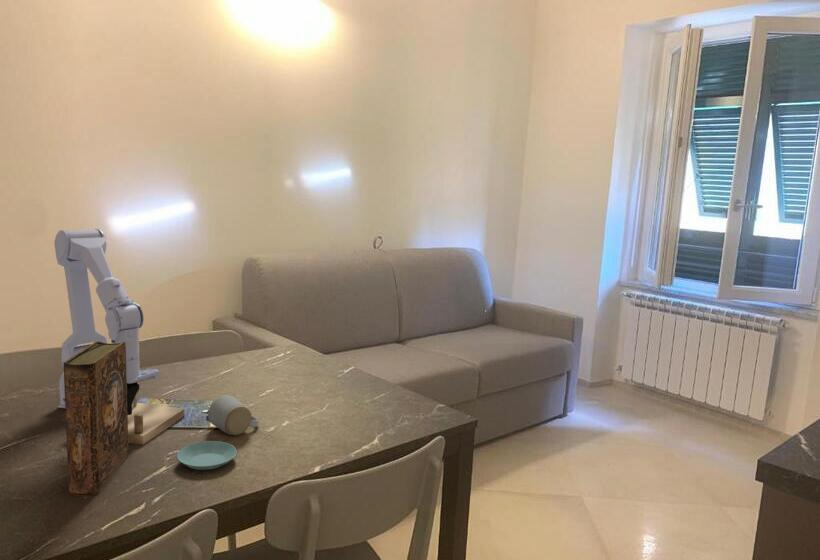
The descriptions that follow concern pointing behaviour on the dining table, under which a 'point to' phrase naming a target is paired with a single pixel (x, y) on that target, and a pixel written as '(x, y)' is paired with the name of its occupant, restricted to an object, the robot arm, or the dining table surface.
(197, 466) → the saucer
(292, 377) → the dining table surface
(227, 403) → the ceramic mug
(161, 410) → the stool seat
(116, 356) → the book
